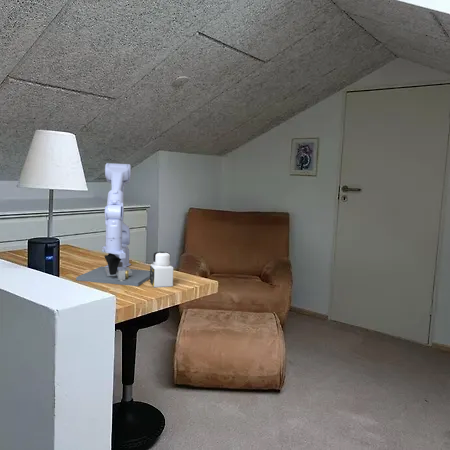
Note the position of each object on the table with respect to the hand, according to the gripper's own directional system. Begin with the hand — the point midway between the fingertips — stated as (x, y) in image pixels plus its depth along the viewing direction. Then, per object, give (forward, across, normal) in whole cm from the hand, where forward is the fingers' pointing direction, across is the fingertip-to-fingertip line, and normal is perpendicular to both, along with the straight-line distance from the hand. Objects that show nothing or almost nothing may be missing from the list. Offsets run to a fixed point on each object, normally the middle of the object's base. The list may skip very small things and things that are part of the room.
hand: (113, 274), depth 165 cm
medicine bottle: (+3, -12, -13) cm, 18 cm away
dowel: (+2, -2, -4) cm, 5 cm away
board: (+3, +6, -5) cm, 8 cm away
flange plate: (+1, +3, -4) cm, 5 cm away
